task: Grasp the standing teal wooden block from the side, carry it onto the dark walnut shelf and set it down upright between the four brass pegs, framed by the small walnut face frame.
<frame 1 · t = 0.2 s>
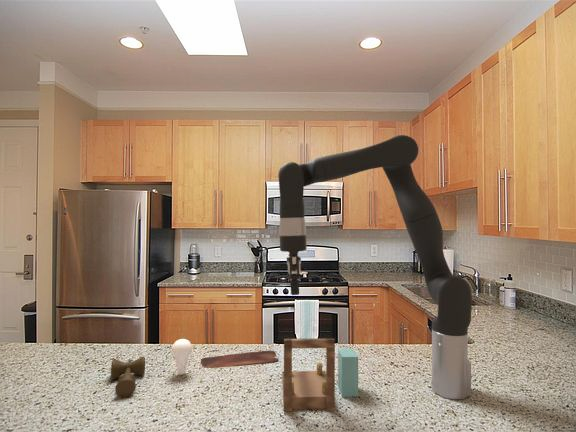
hand: (294, 291, 96), 29 cm above the countertop, tool pointing down, fingers open, 8 cm apart
kendama: (127, 382, 102), on the countertop
teal block: (347, 391, 97), on the countertop
peg shelf: (306, 393, 95), on the countertop
lightbulb: (181, 375, 107), on the countertop
wooden tablet: (239, 361, 118), on the countertop
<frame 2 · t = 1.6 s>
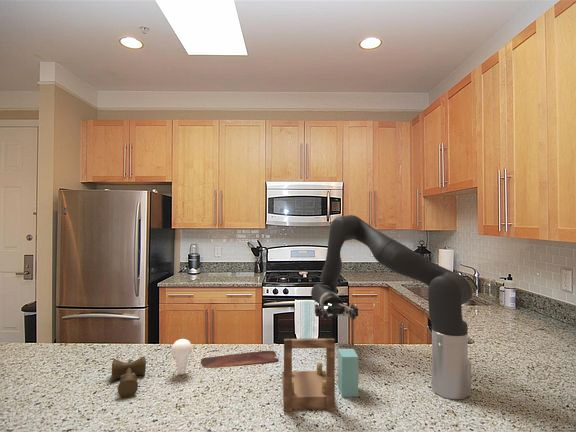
hand: (340, 316, 108), 18 cm above the countertop, tool horizontal, fingers open, 8 cm apart
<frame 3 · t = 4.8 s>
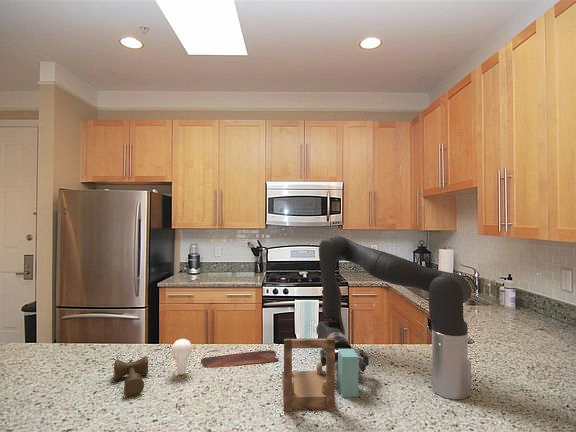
hand: (348, 368, 97), 6 cm above the countertop, tool horizontal, fingers open, 8 cm apart
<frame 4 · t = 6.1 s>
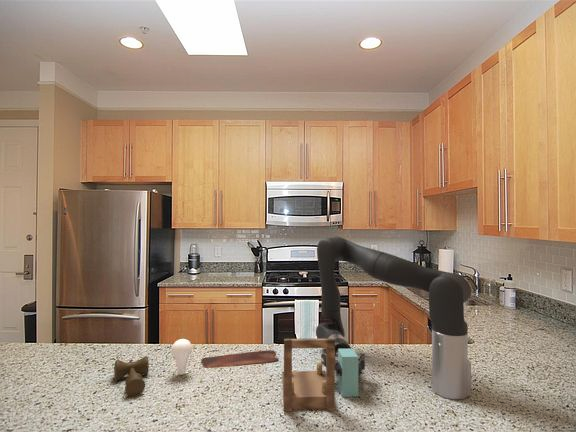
hand: (350, 372, 94), 7 cm above the countertop, tool horizontal, fingers closed on teal block, 4 cm apart
teal block: (347, 391, 97), on the countertop, touching gripper
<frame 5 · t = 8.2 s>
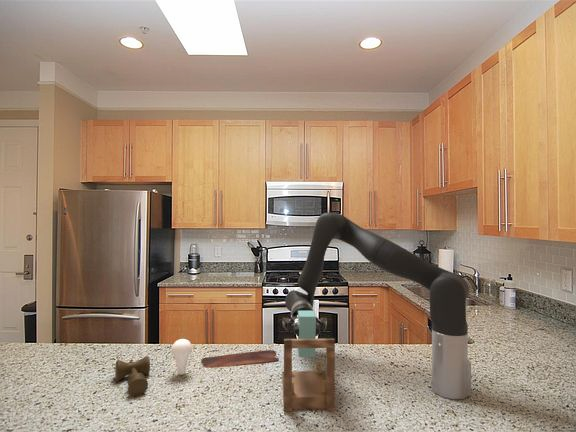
hand: (307, 332, 93), 18 cm above the countertop, tool horizontal, fingers closed on teal block, 4 cm apart
teal block: (306, 352, 96), point 11 cm above the countertop, touching gripper
when the fingers open (11 cm above the countertop, at t = 10.3 s): teal block drops 1 cm, resting on peg shelf.
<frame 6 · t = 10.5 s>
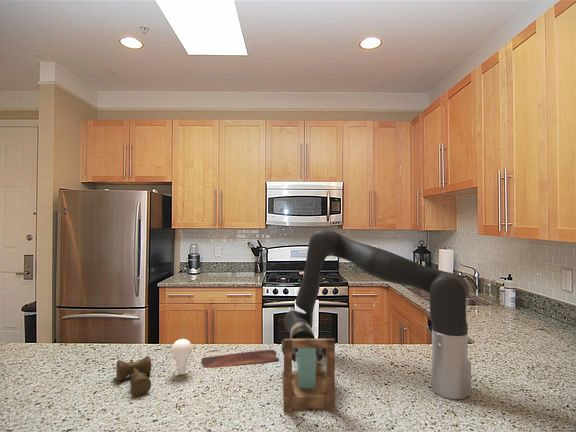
hand: (307, 357, 93), 11 cm above the countertop, tool horizontal, fingers open, 6 cm apart
teal block: (306, 383, 95), point 3 cm above the countertop, touching peg shelf
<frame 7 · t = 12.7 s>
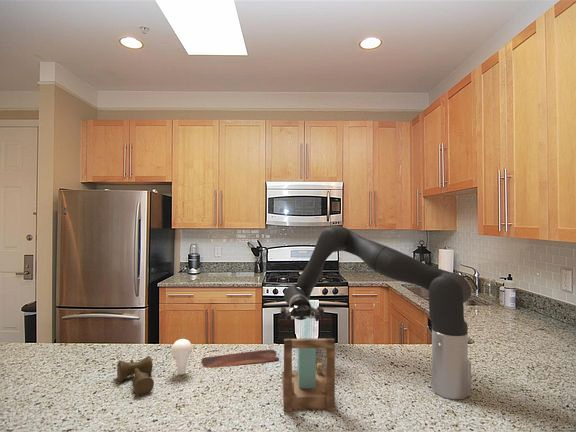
hand: (303, 318, 106), 18 cm above the countertop, tool horizontal, fingers open, 8 cm apart
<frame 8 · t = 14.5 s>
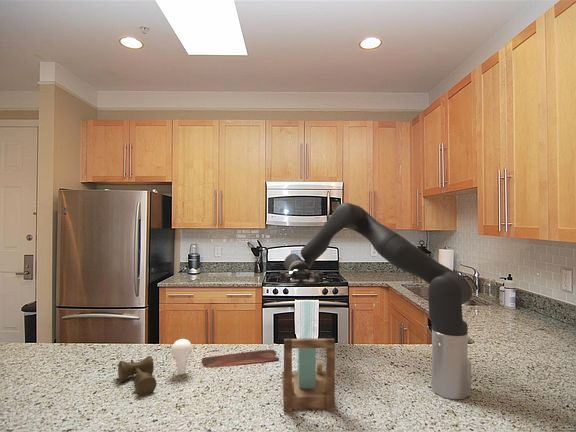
hand: (303, 279, 107), 30 cm above the countertop, tool horizontal, fingers open, 8 cm apart
at the end: teal block 0.1 cm off-centre on the peg shelf, point 3.0 cm above the peg shelf's base; teal block tilted 0°; the gripper is holding nothing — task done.
